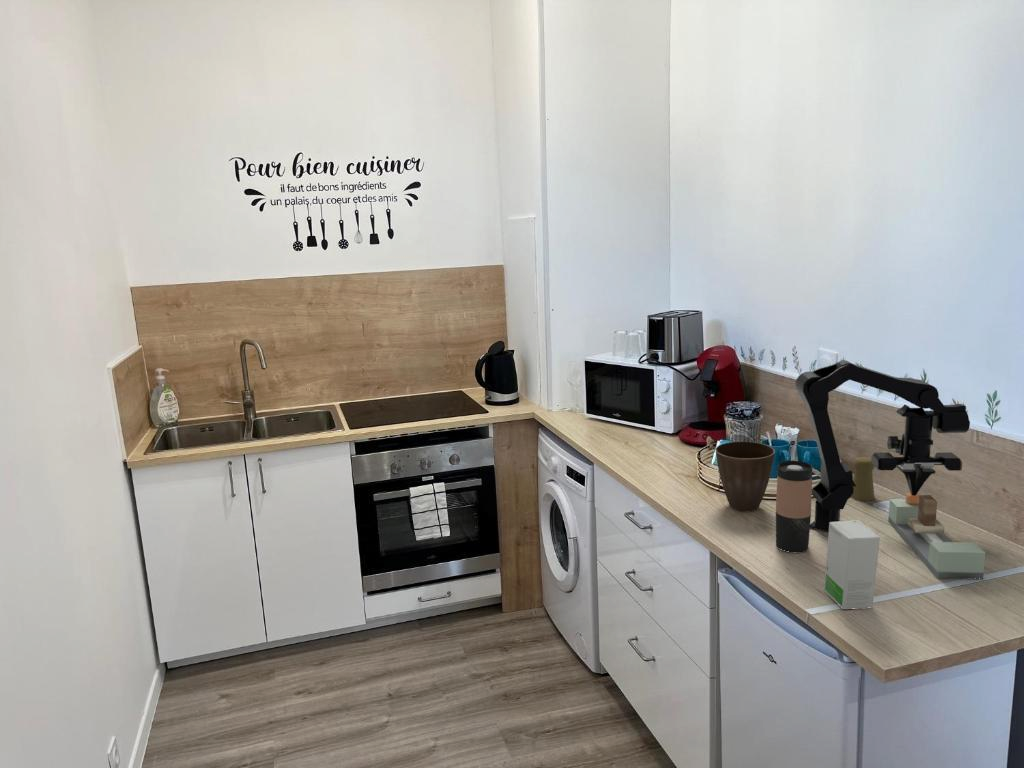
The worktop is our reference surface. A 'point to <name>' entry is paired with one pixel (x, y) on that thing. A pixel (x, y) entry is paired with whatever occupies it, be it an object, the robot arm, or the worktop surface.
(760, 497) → the plant pot
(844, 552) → the skincare box
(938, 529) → the carriage
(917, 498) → the orange knob
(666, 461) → the worktop surface
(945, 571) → the rail bench
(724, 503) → the worktop surface
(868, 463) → the cork
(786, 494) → the travel mug
